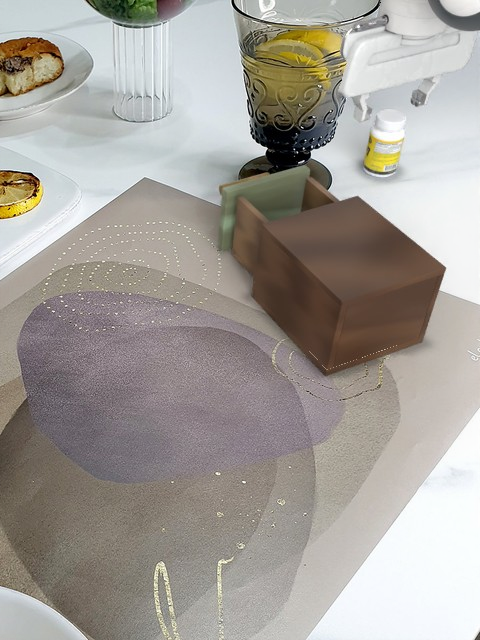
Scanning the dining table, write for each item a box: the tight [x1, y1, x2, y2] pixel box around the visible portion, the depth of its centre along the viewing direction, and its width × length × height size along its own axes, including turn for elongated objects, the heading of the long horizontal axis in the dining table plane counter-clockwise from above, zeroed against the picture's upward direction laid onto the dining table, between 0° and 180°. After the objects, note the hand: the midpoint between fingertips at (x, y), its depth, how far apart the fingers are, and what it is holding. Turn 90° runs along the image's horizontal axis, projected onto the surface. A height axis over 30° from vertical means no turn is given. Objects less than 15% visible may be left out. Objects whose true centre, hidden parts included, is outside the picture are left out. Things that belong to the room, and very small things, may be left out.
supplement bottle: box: [362, 108, 407, 178], centre depth 121 cm, size 5×5×8 cm
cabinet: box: [251, 195, 447, 377], centre depth 98 cm, size 16×13×11 cm
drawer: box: [216, 164, 341, 278], centre depth 106 cm, size 19×12×9 cm, turn 23°
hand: (389, 111), depth 118 cm, fingers open, 8 cm apart
